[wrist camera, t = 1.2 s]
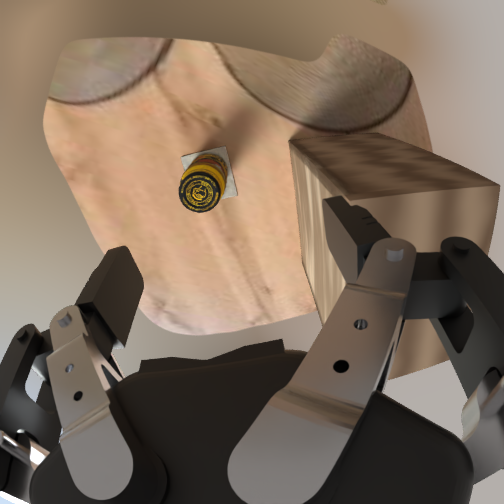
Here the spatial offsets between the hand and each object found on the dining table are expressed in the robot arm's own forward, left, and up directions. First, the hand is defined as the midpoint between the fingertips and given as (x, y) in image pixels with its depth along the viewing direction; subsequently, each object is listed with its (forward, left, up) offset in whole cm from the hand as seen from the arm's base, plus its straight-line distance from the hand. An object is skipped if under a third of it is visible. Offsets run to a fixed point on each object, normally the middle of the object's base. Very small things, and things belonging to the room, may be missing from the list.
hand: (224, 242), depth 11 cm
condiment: (+8, +2, -36) cm, 37 cm away
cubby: (-7, +19, -36) cm, 41 cm away
